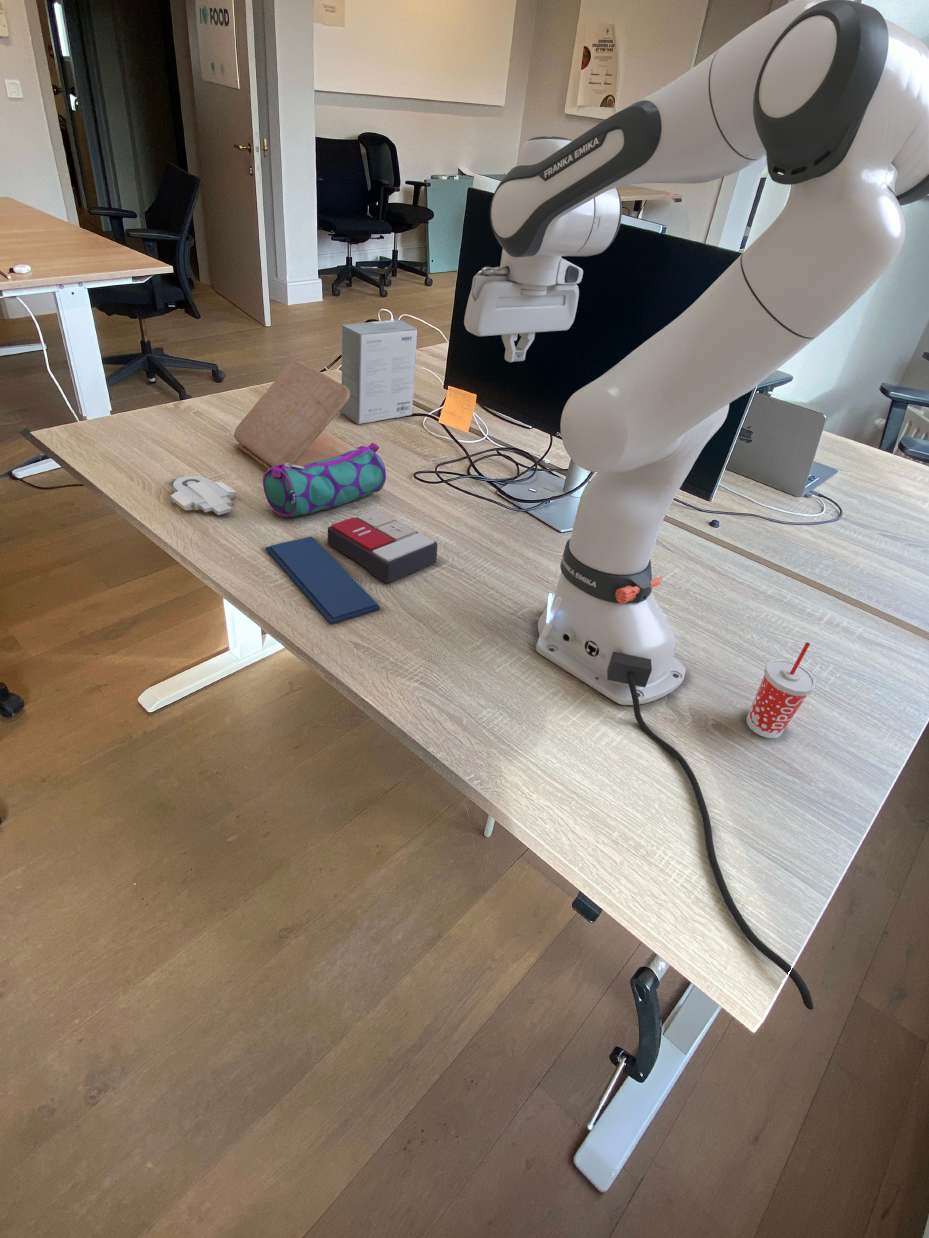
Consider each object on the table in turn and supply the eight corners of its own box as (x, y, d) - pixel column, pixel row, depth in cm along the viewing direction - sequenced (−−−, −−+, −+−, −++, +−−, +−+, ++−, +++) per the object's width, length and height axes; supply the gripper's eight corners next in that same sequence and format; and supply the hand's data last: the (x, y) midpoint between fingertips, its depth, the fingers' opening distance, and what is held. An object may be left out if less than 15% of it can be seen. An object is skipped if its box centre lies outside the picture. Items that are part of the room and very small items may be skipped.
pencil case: (291, 530, 117) (290, 477, 111) (262, 508, 121) (260, 456, 116) (387, 500, 130) (390, 451, 124) (358, 481, 134) (359, 434, 128)
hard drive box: (394, 405, 170) (400, 319, 158) (413, 416, 165) (420, 328, 154) (339, 413, 161) (341, 323, 149) (357, 425, 157) (360, 333, 145)
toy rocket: (251, 509, 120) (250, 497, 119) (199, 525, 114) (197, 512, 113) (202, 475, 128) (200, 463, 127) (151, 487, 122) (149, 475, 121)
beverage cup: (743, 736, 90) (787, 653, 81) (737, 705, 94) (777, 623, 86) (791, 747, 89) (840, 664, 81) (782, 714, 94) (827, 633, 86)
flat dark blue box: (379, 609, 102) (380, 604, 101) (330, 624, 98) (330, 619, 97) (311, 539, 115) (311, 534, 115) (265, 549, 111) (265, 545, 110)
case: (230, 446, 140) (223, 365, 130) (319, 429, 152) (320, 354, 142) (283, 487, 128) (280, 402, 119) (375, 465, 141) (379, 387, 131)
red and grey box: (378, 505, 119) (439, 538, 111) (377, 528, 122) (437, 562, 114) (326, 523, 113) (387, 560, 105) (326, 546, 115) (386, 584, 107)
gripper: (488, 272, 96) (475, 372, 105) (591, 271, 107) (571, 362, 116) (462, 261, 100) (451, 359, 108) (563, 262, 111) (546, 350, 119)
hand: (514, 360), depth 112 cm, fingers closed
